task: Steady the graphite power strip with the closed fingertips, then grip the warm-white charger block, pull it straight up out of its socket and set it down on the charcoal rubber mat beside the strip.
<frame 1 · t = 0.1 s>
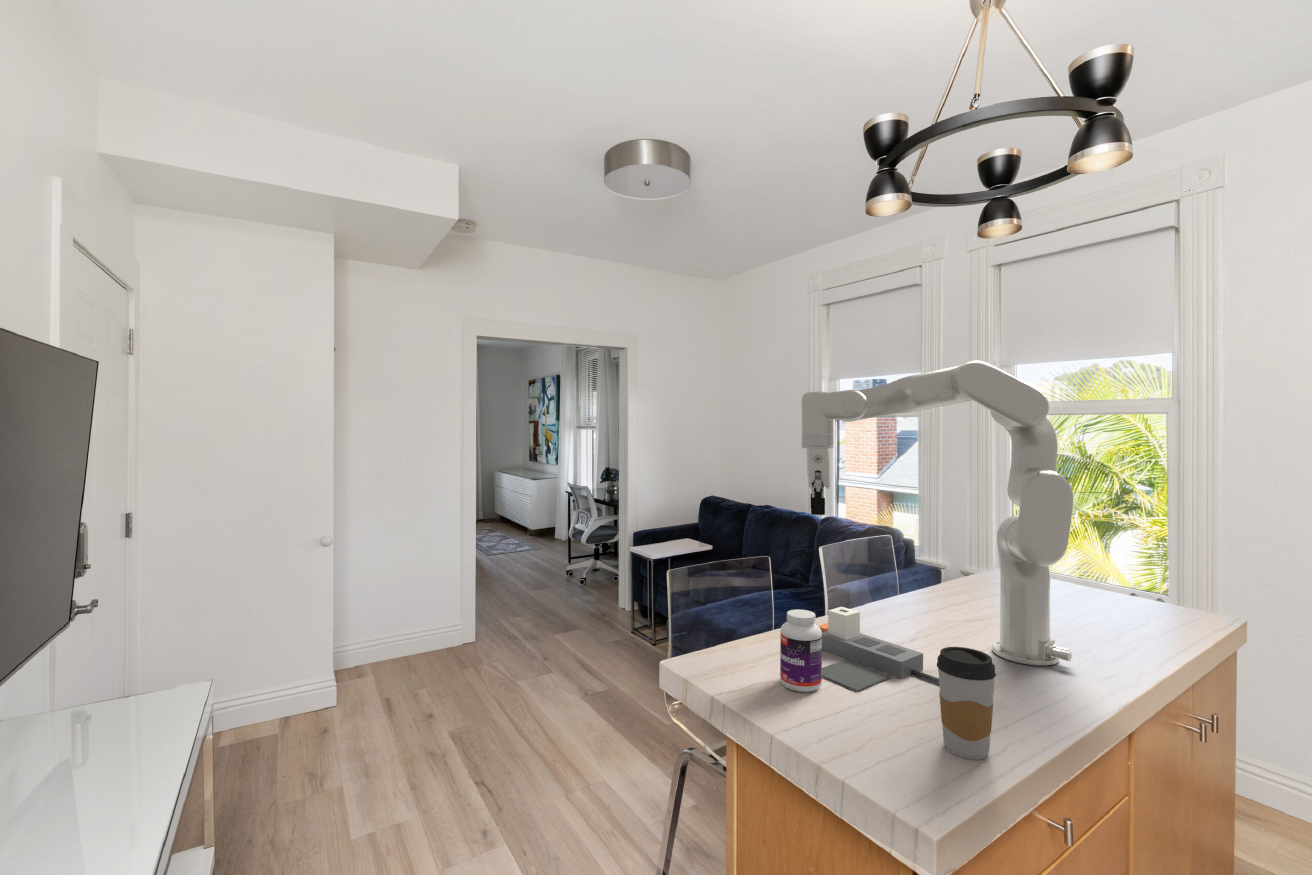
hand: (817, 511, 141), 31 cm above the kitchen island, tool pointing down, fingers open, 9 cm apart
power strip: (862, 656, 130), on the kitchen island
mat: (851, 675, 119), on the kitchen island
charger: (843, 634, 134), point 3 cm above the kitchen island, touching power strip
pill bottle: (800, 686, 115), on the kitchen island
coffee cup: (965, 750, 91), on the kitchen island
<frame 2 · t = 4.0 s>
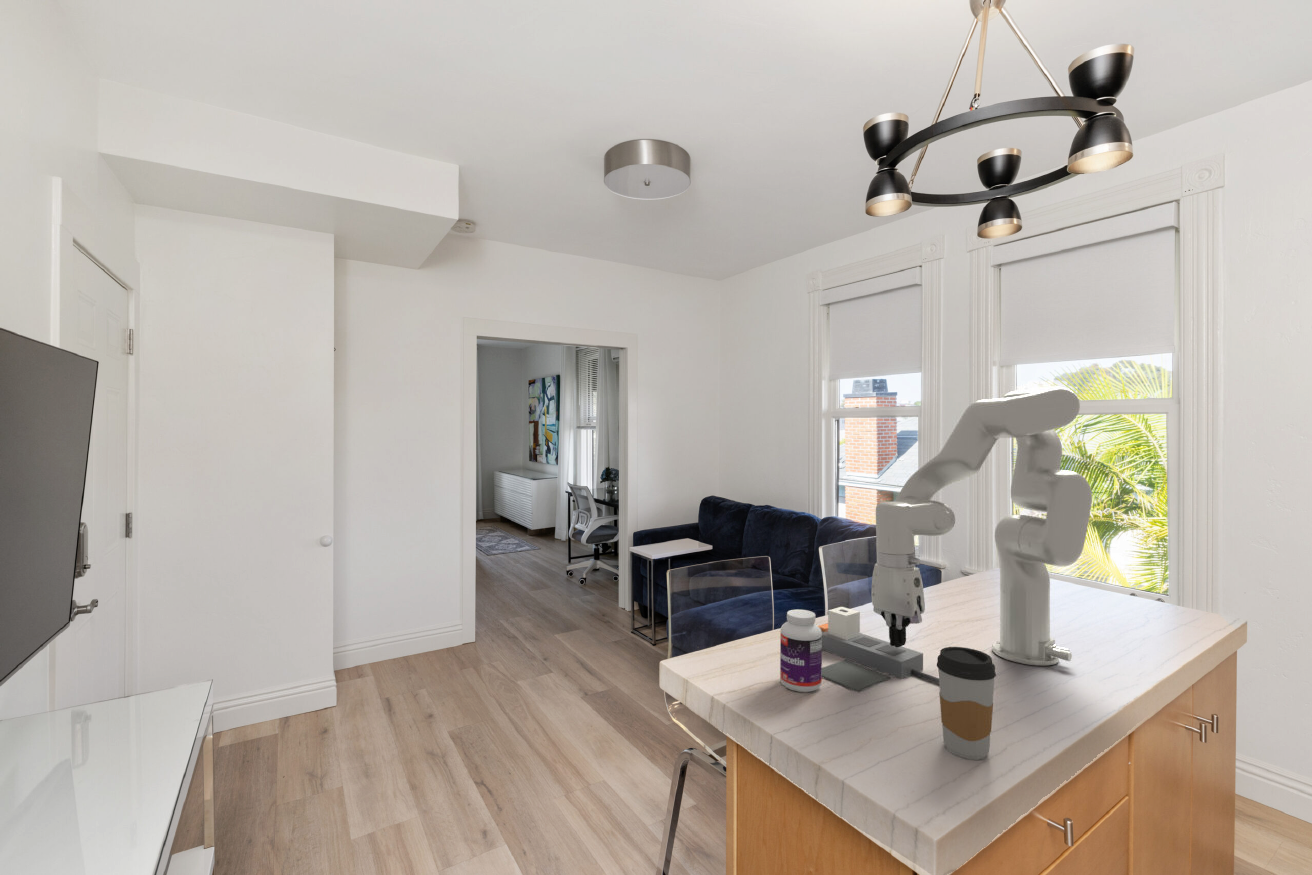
hand: (897, 644, 123), 5 cm above the kitchen island, tool pointing down, fingers closed
nothing on the kitchen island moved.
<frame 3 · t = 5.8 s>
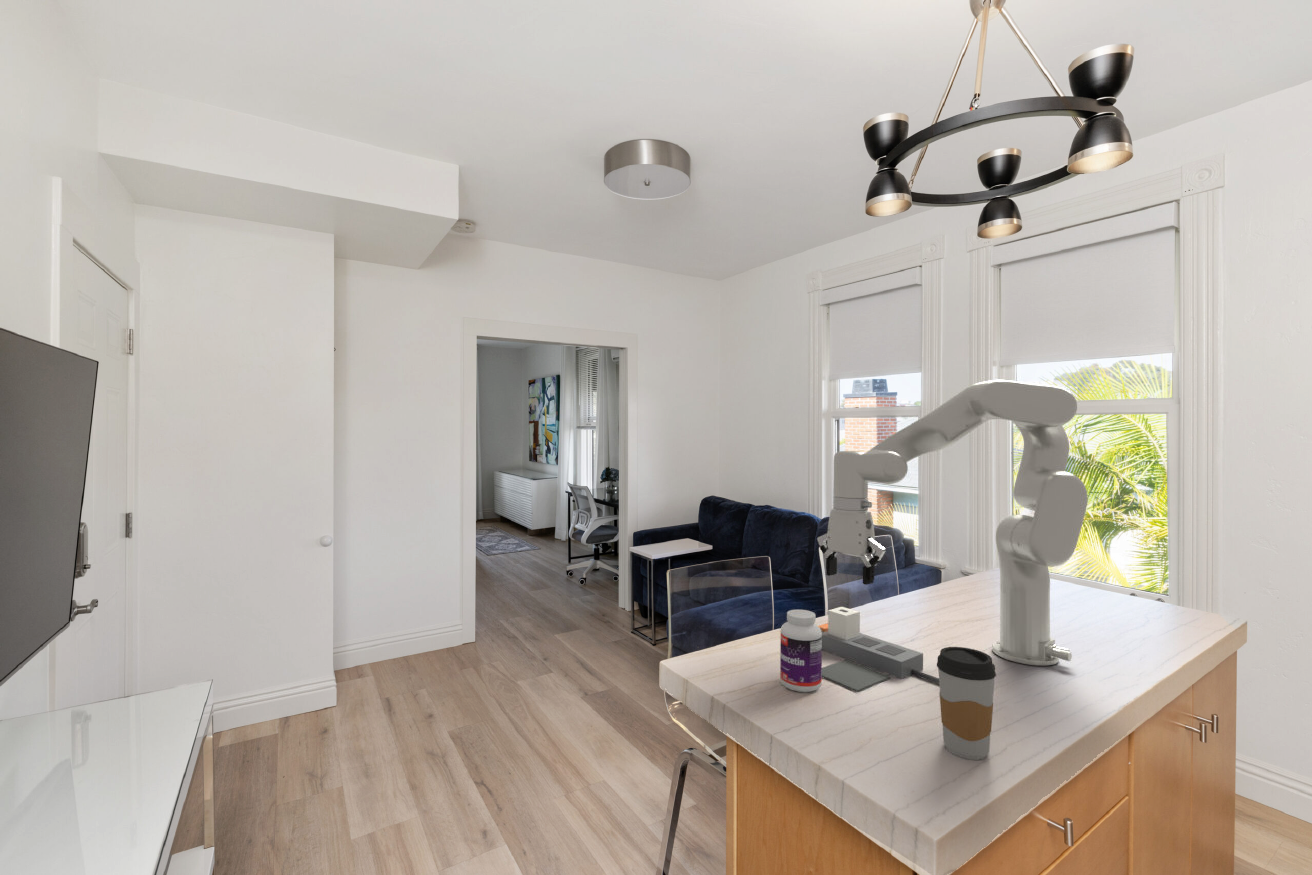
hand: (849, 579, 132), 17 cm above the kitchen island, tool pointing down, fingers open, 9 cm apart
nothing on the kitchen island moved.
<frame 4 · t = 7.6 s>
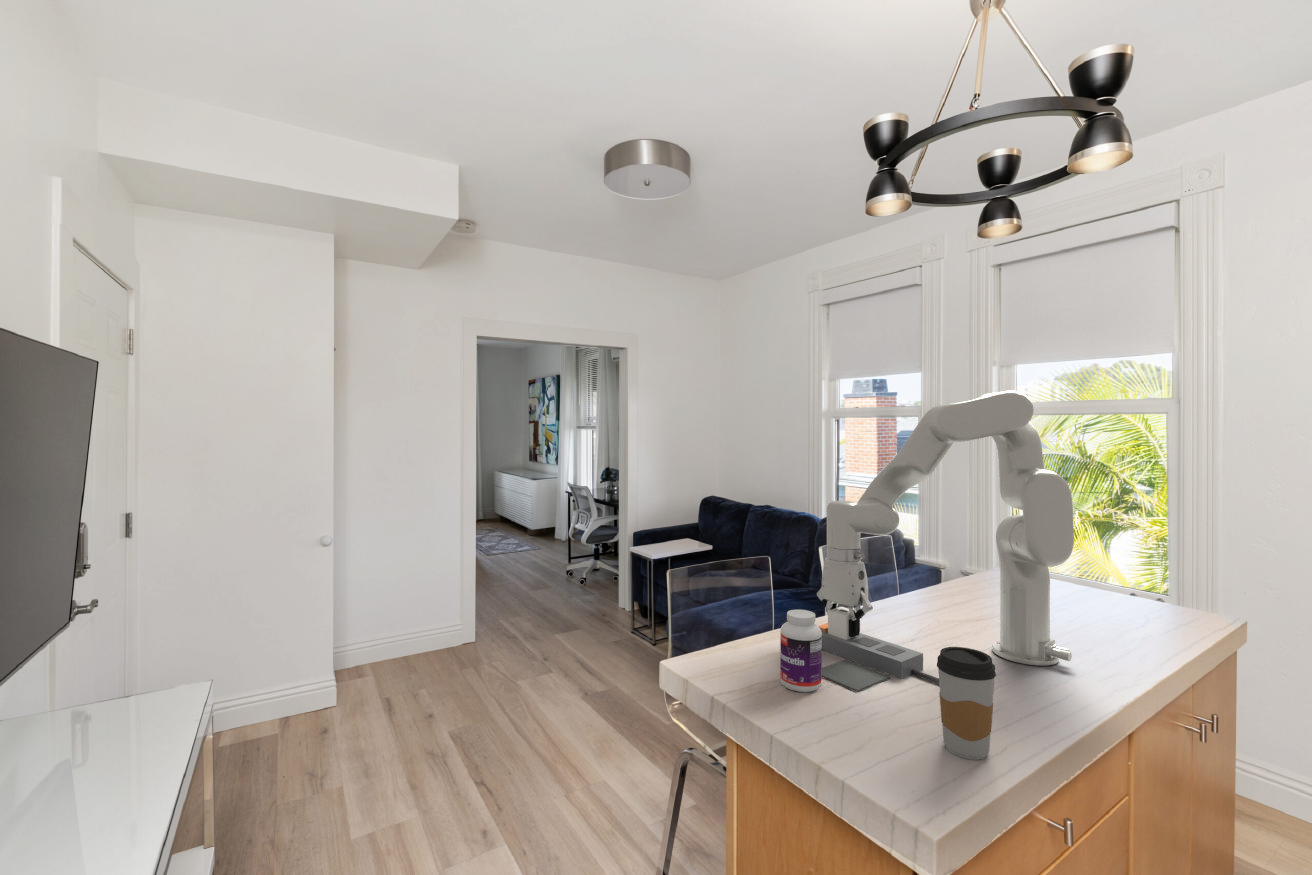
hand: (843, 631, 134), 4 cm above the kitchen island, tool pointing down, fingers closed on charger, 4 cm apart
charger: (843, 634, 134), point 3 cm above the kitchen island, touching gripper, power strip
everything else where it was.
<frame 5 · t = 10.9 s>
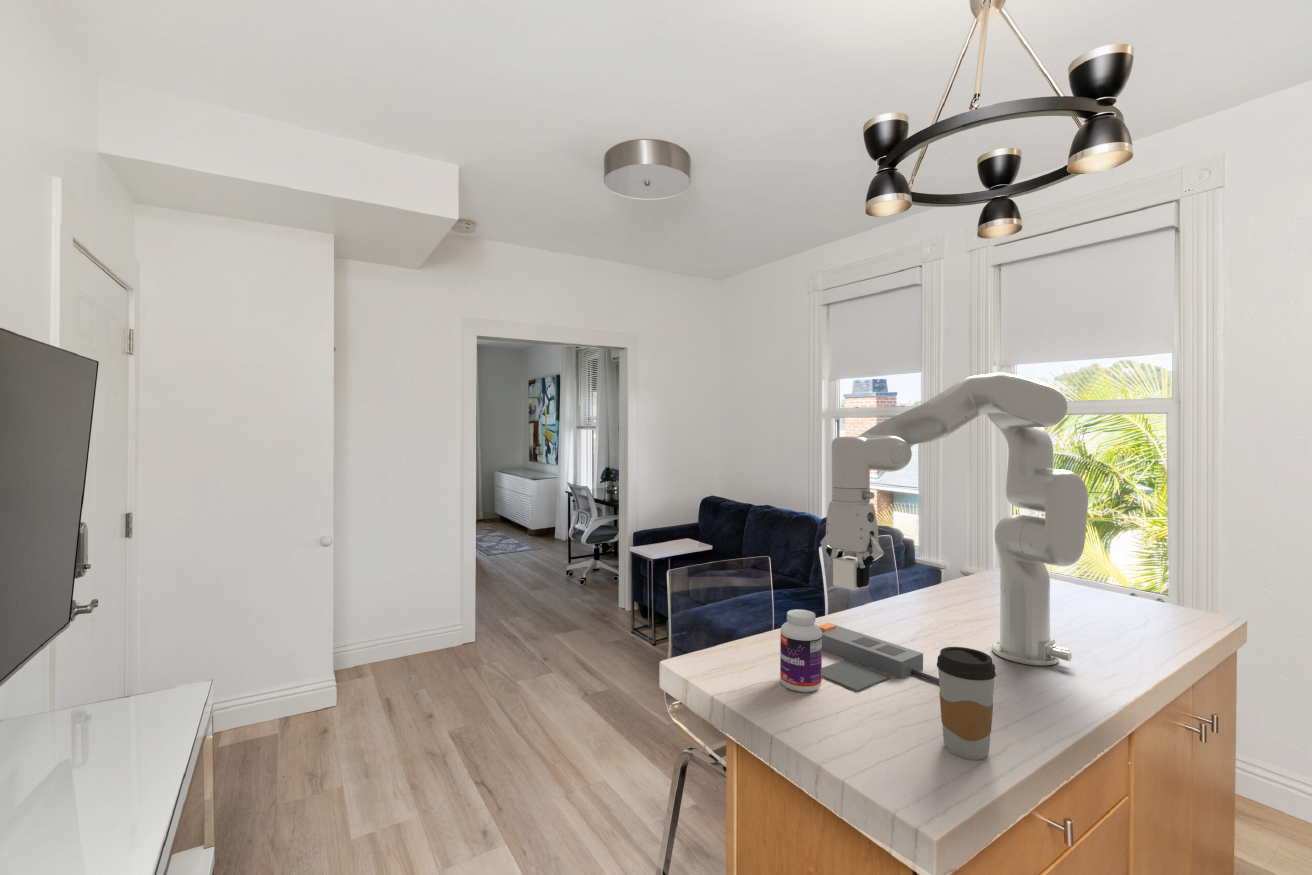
hand: (850, 582, 119), 19 cm above the kitchen island, tool pointing down, fingers closed on charger, 4 cm apart
charger: (850, 585, 119), point 19 cm above the kitchen island, touching gripper
everything else where it was.
when the fingers open (2 cm above the kitchen island, at t = 14.5 s): charger drops 1 cm, resting on mat.
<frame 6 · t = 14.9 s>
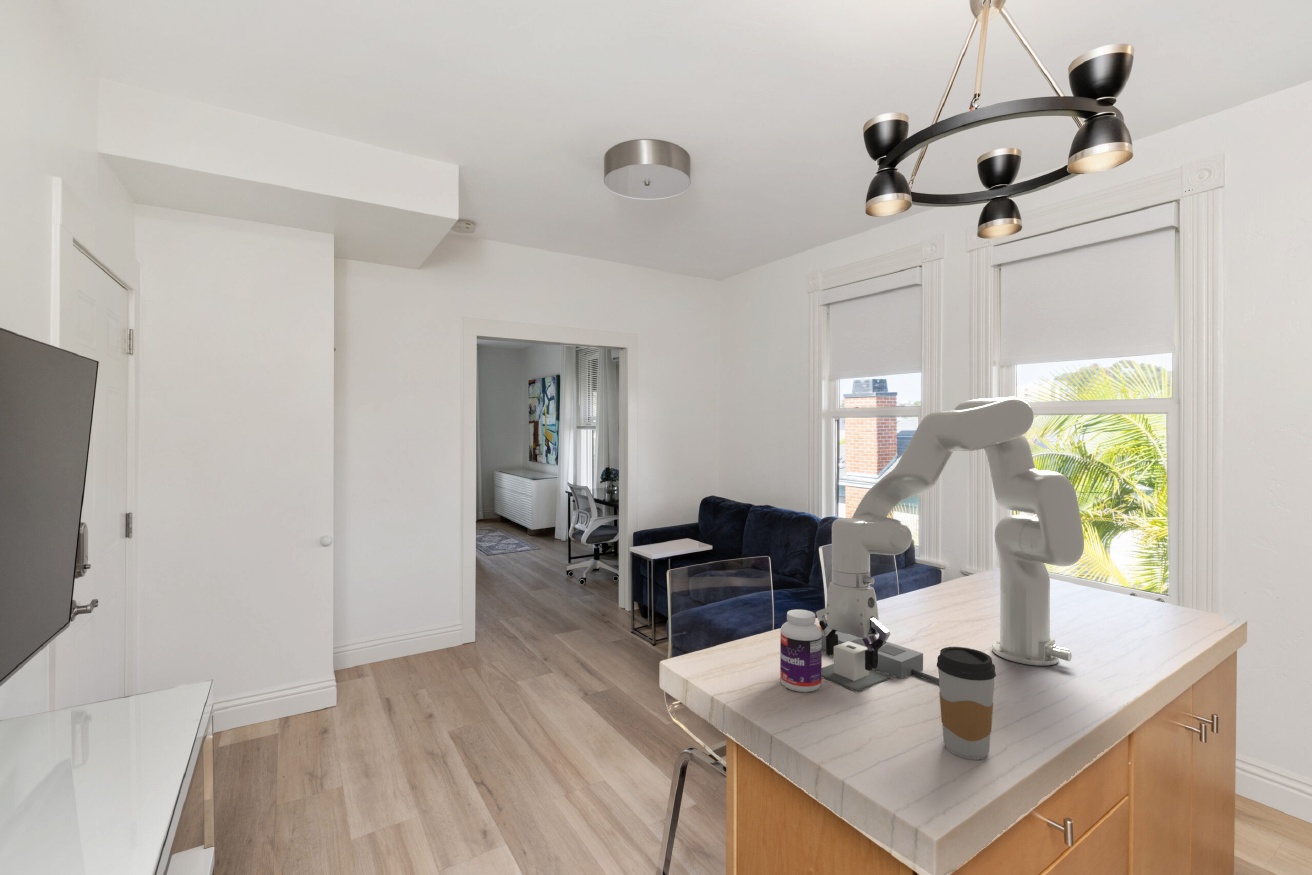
hand: (851, 661, 119), 3 cm above the kitchen island, tool pointing down, fingers open, 9 cm apart
charger: (851, 673, 119), resting on mat
everything else where it was.
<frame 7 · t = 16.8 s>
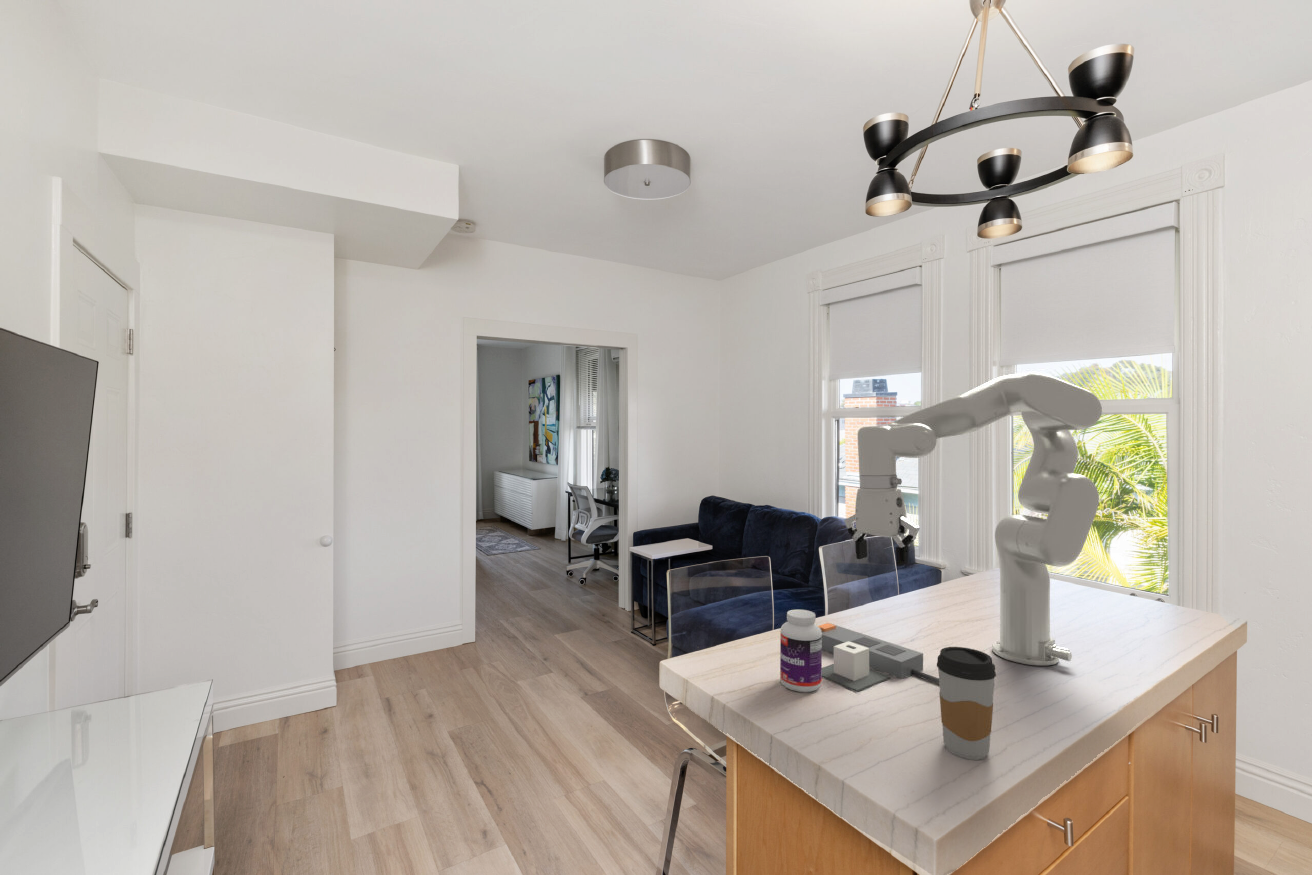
hand: (881, 561, 125), 23 cm above the kitchen island, tool pointing down, fingers open, 9 cm apart
nothing on the kitchen island moved.
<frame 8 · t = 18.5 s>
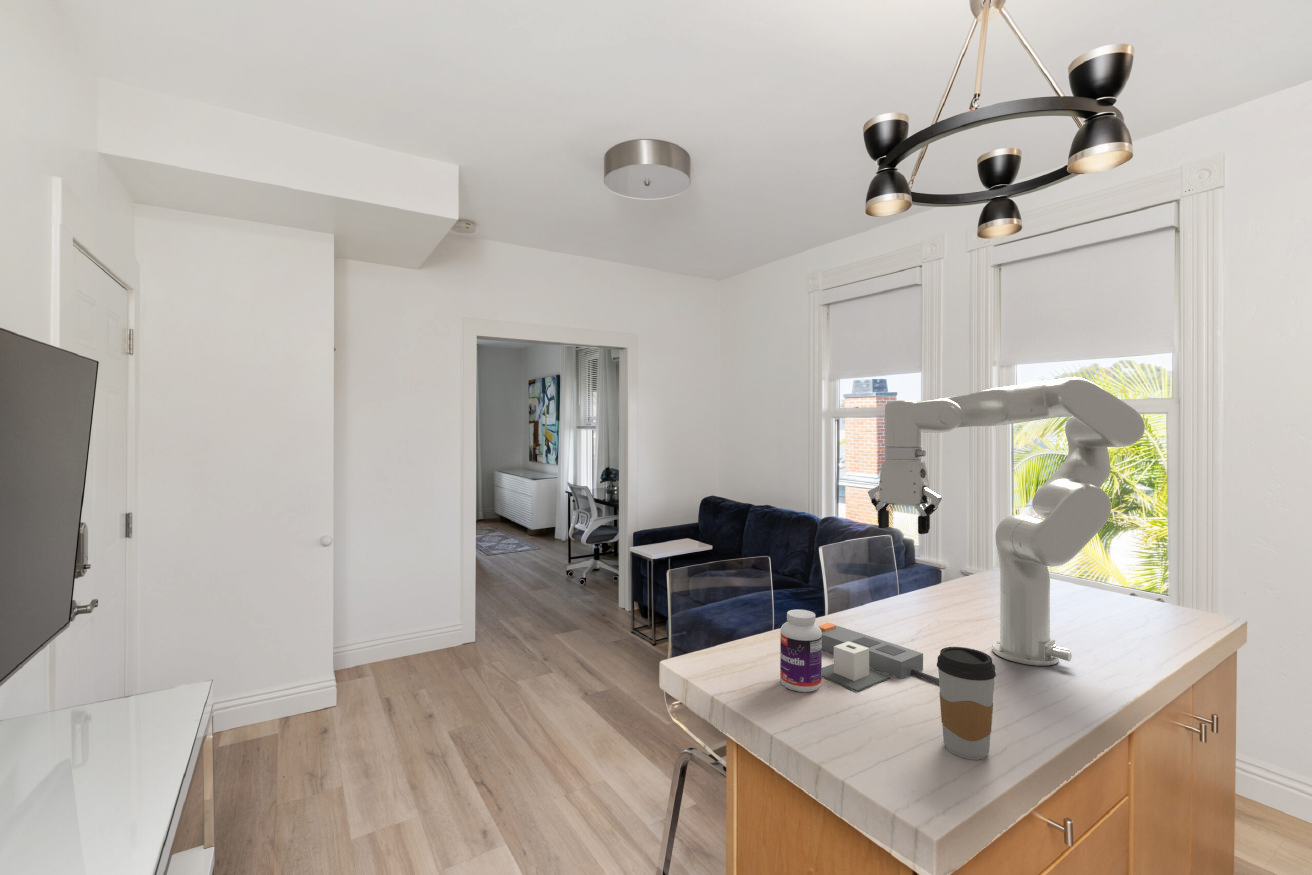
hand: (903, 530, 130), 28 cm above the kitchen island, tool pointing down, fingers open, 9 cm apart
nothing on the kitchen island moved.
at the end: charger inside the target area on the mat (0.1 cm from its centre), point 0.4 cm above the mat's base; charger tilted 0°; charger touching mat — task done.
